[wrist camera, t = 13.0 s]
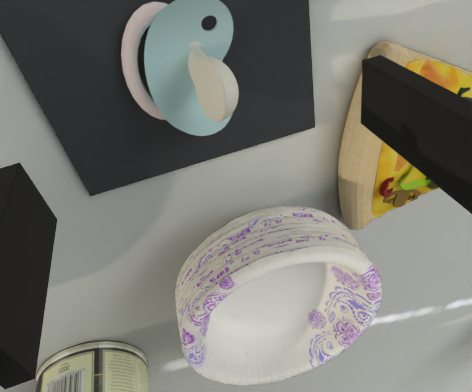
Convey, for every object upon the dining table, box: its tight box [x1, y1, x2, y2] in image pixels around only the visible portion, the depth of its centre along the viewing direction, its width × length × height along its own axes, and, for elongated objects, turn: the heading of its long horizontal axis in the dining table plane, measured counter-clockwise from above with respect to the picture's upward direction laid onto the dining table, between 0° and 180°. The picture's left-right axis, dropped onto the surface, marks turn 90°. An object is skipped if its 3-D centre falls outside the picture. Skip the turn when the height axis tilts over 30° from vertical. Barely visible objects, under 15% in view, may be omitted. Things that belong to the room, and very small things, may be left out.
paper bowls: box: [175, 206, 382, 385], centre depth 30 cm, size 15×15×8 cm
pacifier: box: [121, 0, 239, 136], centre depth 19 cm, size 7×6×6 cm
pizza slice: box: [338, 41, 472, 230], centre depth 30 cm, size 16×21×3 cm
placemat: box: [0, 0, 315, 196], centre depth 22 cm, size 16×14×1 cm
